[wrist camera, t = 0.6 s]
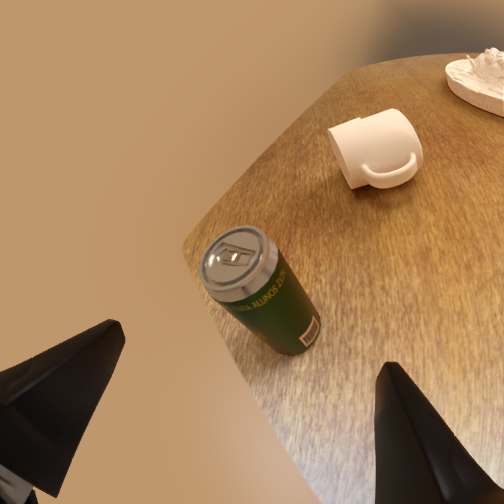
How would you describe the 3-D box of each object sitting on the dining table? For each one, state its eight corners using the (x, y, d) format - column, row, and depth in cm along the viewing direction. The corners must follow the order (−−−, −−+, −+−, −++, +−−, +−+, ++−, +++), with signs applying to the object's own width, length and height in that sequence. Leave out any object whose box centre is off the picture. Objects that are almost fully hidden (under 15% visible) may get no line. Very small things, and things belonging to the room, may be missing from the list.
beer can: (330, 310, 25) (285, 223, 17) (310, 363, 22) (246, 302, 14) (281, 300, 28) (220, 221, 20) (260, 348, 26) (181, 284, 18)
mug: (337, 165, 37) (320, 117, 32) (394, 145, 34) (383, 97, 29) (365, 220, 29) (350, 162, 24) (434, 195, 26) (431, 136, 21)
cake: (425, 89, 40) (415, 47, 34) (476, 64, 39) (470, 32, 32) (544, 142, 20) (547, 88, 13) (564, 103, 18) (563, 65, 12)
